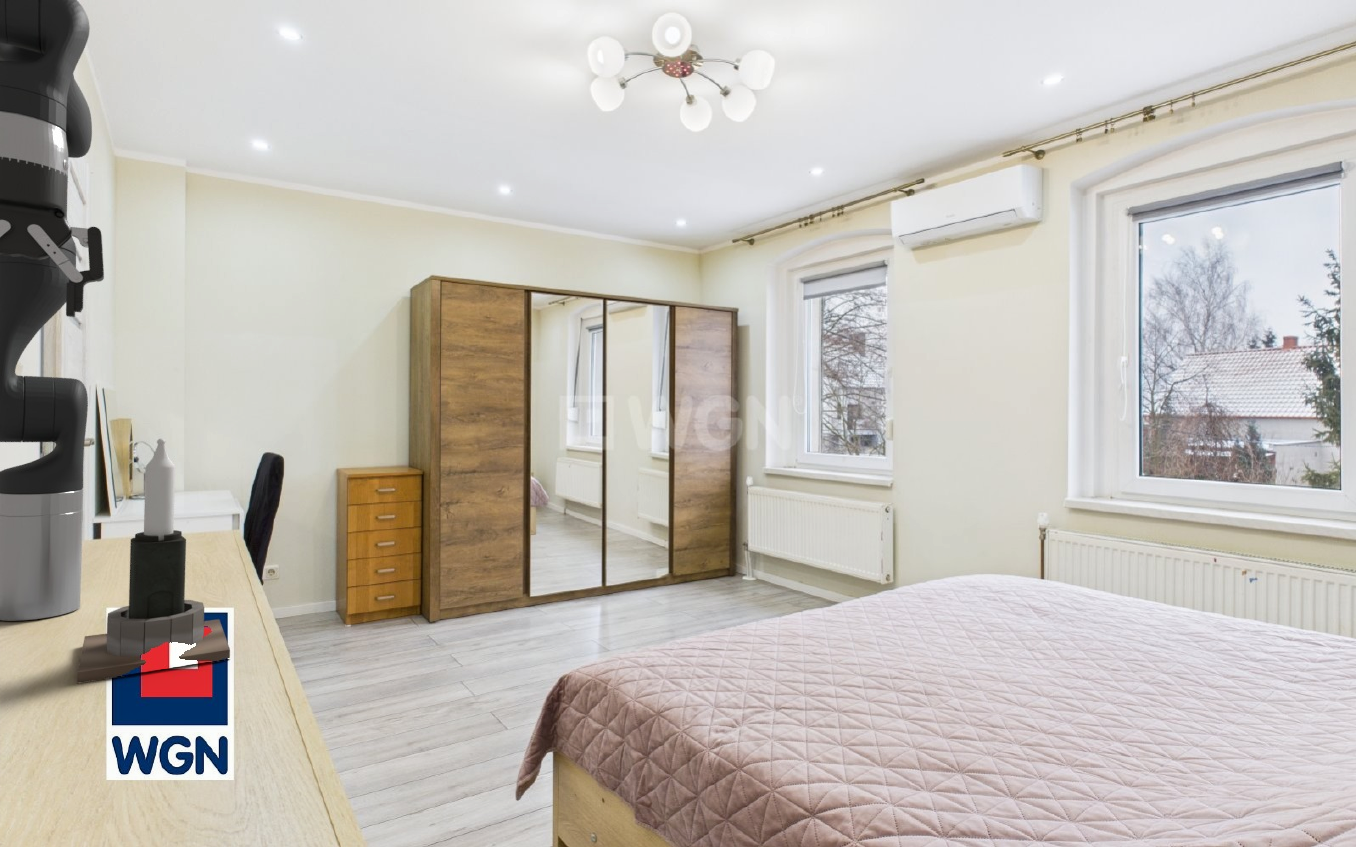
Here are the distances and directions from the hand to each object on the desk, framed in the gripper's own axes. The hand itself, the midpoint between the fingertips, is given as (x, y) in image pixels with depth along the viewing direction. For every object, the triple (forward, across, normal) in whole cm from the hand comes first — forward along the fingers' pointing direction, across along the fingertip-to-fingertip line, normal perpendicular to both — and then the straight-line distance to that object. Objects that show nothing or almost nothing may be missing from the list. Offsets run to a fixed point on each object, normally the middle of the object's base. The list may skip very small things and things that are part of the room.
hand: (19, 312), depth 78 cm
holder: (+40, -13, +1) cm, 42 cm away
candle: (+39, -13, +1) cm, 41 cm away
